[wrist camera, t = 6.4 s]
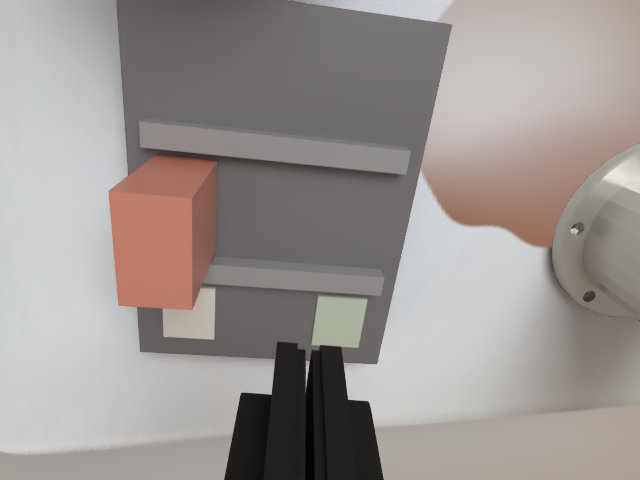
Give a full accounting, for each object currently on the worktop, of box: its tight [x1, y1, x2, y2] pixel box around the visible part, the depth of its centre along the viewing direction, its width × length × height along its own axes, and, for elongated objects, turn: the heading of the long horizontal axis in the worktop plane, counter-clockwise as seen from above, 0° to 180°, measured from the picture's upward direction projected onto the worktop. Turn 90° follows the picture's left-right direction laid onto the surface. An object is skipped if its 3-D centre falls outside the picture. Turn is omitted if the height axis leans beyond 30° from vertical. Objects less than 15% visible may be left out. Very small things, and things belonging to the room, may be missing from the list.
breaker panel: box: [117, 0, 452, 364], centre depth 23 cm, size 15×20×4 cm
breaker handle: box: [109, 154, 218, 310], centre depth 19 cm, size 3×5×6 cm, turn 173°
